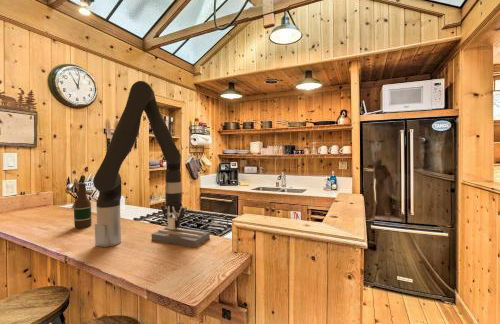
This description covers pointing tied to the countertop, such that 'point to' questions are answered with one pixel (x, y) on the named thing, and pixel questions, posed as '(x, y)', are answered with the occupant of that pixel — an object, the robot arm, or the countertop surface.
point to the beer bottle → (82, 208)
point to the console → (181, 236)
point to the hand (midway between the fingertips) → (173, 227)
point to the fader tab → (172, 224)
